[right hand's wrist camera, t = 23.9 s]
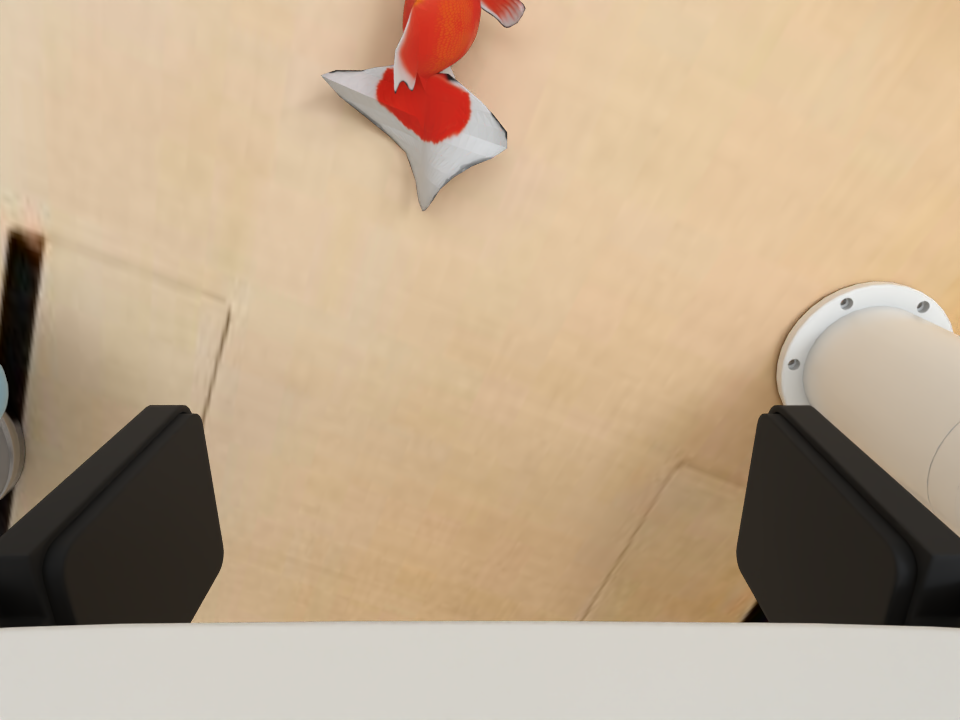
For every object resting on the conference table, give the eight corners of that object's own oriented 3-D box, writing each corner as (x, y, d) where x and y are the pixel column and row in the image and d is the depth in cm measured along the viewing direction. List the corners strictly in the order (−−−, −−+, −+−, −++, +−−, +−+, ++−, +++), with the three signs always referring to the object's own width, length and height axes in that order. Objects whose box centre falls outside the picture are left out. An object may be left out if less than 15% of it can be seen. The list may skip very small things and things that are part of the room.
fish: (609, -12, 36) (532, 11, 29) (499, 207, 47) (423, 263, 40) (457, -113, 38) (347, -114, 30) (383, 124, 48) (290, 164, 41)
